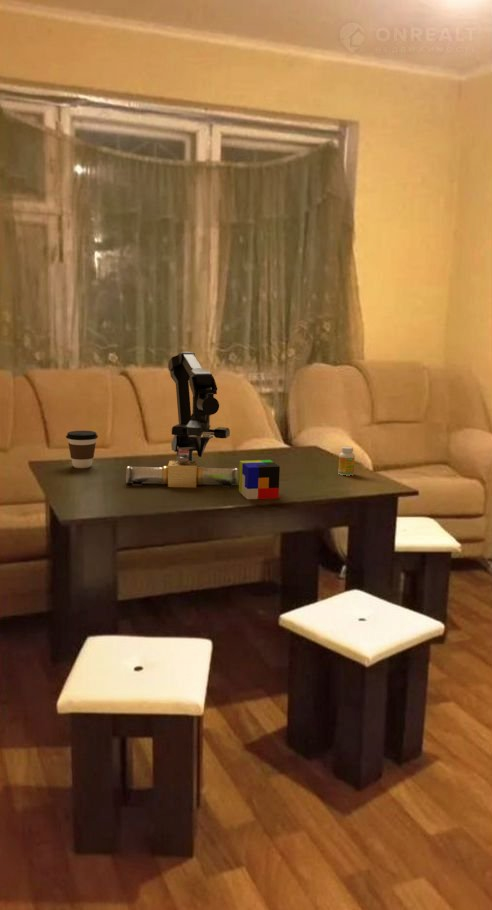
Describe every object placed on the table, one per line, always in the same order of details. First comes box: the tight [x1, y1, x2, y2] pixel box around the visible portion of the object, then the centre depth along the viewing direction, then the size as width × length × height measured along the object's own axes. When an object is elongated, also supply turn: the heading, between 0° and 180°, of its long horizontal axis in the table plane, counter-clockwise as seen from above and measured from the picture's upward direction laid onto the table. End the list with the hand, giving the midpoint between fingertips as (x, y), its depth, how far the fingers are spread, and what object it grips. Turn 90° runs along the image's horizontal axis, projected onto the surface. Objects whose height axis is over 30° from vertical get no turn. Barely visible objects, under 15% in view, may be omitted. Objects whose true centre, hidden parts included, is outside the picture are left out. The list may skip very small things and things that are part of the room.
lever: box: [176, 449, 189, 463], centre depth 262 cm, size 15×4×2 cm, turn 3°
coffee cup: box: [65, 430, 99, 469], centre depth 280 cm, size 11×11×12 cm
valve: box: [125, 460, 239, 488], centre depth 258 cm, size 8×36×7 cm, turn 93°
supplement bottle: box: [337, 446, 356, 477], centre depth 279 cm, size 5×5×10 cm
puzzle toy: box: [238, 459, 281, 500], centre depth 247 cm, size 10×10×10 cm
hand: (200, 456), depth 265 cm, fingers closed
